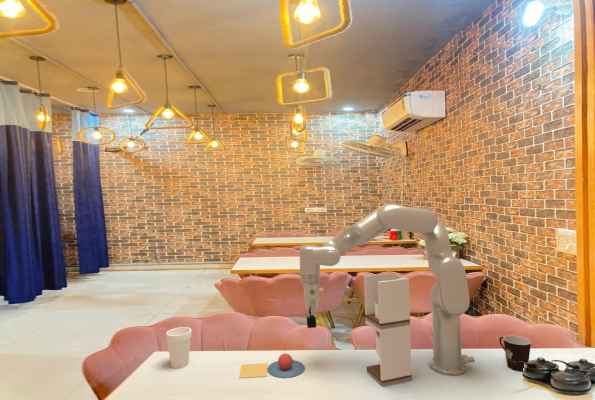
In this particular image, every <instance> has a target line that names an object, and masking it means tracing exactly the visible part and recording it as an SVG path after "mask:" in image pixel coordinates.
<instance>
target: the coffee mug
mask: <svg viewBox="0 0 595 400" xmlns="http://www.w3.org/2000/svg"><path fill="white" fill-rule="evenodd" d="M502 339H503V343H502ZM498 341H499V344H500V346H501V347H502V349H503V351H504V353H505V359H506V366H507V367H508V368H509V369H510V370H513V371H515V372H523V368H524V363H523V362H528V361H530V356H531V355H530V354H531V345H532V342H531V341H532V340H530V339H528V338H526V337H524V336H519V335H505V336H500V337H499V340H498ZM519 361H523V362H519ZM523 373H524V372H523Z"/></svg>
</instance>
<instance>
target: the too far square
mask: <svg viewBox="0 0 595 400" xmlns="http://www.w3.org/2000/svg"><path fill="white" fill-rule="evenodd" d="M267 368H268V362H267V363H266V362H265V363H249V364H241V365H240V370H239V377H238V378H239V379H249V378H252V379H253V378H264V377H268V371H267Z"/></svg>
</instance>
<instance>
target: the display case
mask: <svg viewBox="0 0 595 400" xmlns="http://www.w3.org/2000/svg"><path fill="white" fill-rule="evenodd" d="M363 280H364V282H363V283H364V286H363V287H364V317H365V319H364V320H365V324H366V325H367V326H368V327H370V328H371V329H373V330H374V331H375V352H376V354H377V357H378V358H379V361H380V363H379V364H375V365H374V364H373V365H370V366H366V373H367V375H369V376H370V377H371V378H372V379H373V380H374V381H375V382H376V383H377V384H378V385H380V386H381V387H382V388H384V387H388V386H393V385H398V384H403V383H407V382H411V381H412V350H411V349H412V348H411V343H412V342H411V340H412V339H411V311H410V310H411V309H410V308H411V307H410V306H411V304H410V279H409V278H408V277H404V276H401V275H399V274H396V273H393V272H389V273H379V274H377V273H376V274H369V275H364V277H363Z"/></svg>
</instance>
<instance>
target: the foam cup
mask: <svg viewBox="0 0 595 400" xmlns="http://www.w3.org/2000/svg"><path fill="white" fill-rule="evenodd" d="M192 331H193V330H192V328H190V327H187V326H182V327H181V326H179V327H174V328H170V329H168V330H167V331H166V333H165V338H166V342H167V347H168V348H167V349H168V353H169V354H168V355H169V360H170V365H171V366H172V367H173V368H172V369H182V368H185V367H187V366H188V365H189V361H190V360H189V359H190V352H191V350H190V349H191V341H192V340H191V339H192V337H193V336H192V335H193V334H192Z"/></svg>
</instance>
